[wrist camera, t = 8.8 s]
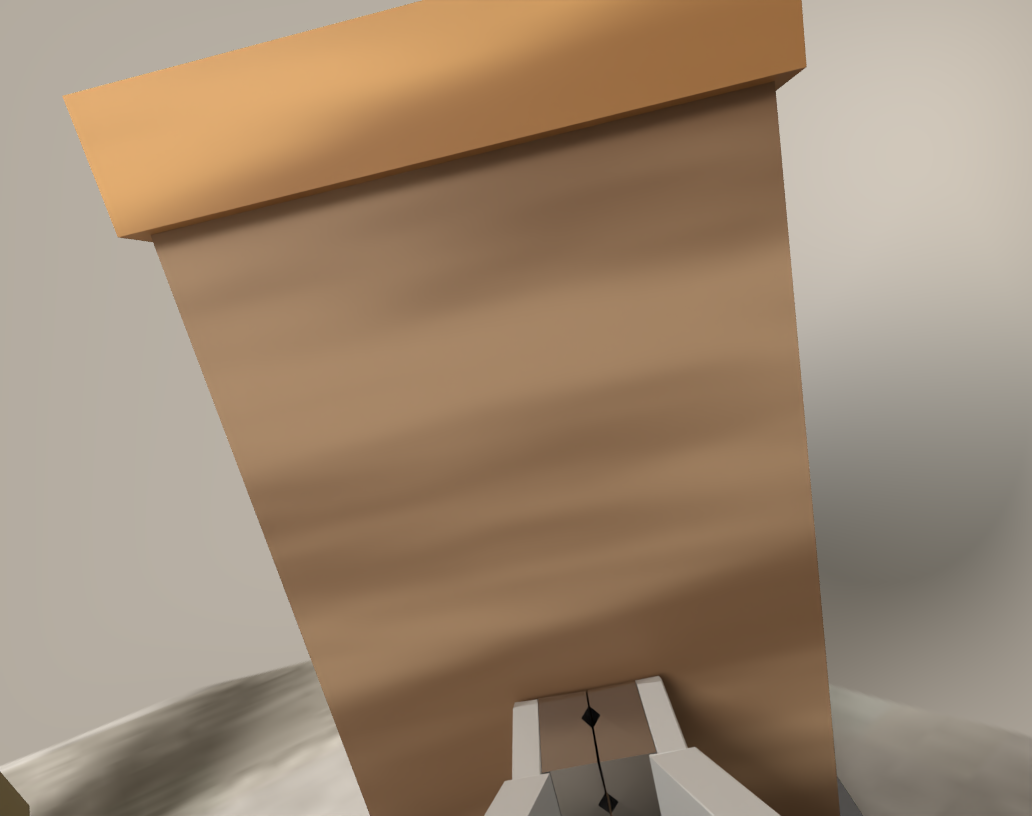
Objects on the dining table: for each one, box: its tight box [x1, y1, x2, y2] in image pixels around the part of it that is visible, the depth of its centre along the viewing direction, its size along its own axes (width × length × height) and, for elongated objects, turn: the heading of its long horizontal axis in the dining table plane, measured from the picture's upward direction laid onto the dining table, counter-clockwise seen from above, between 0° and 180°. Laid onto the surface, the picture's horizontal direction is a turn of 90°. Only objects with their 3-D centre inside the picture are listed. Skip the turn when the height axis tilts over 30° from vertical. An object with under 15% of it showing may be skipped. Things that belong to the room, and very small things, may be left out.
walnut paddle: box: [63, 0, 840, 816], centre depth 11 cm, size 4×11×21 cm, turn 90°
